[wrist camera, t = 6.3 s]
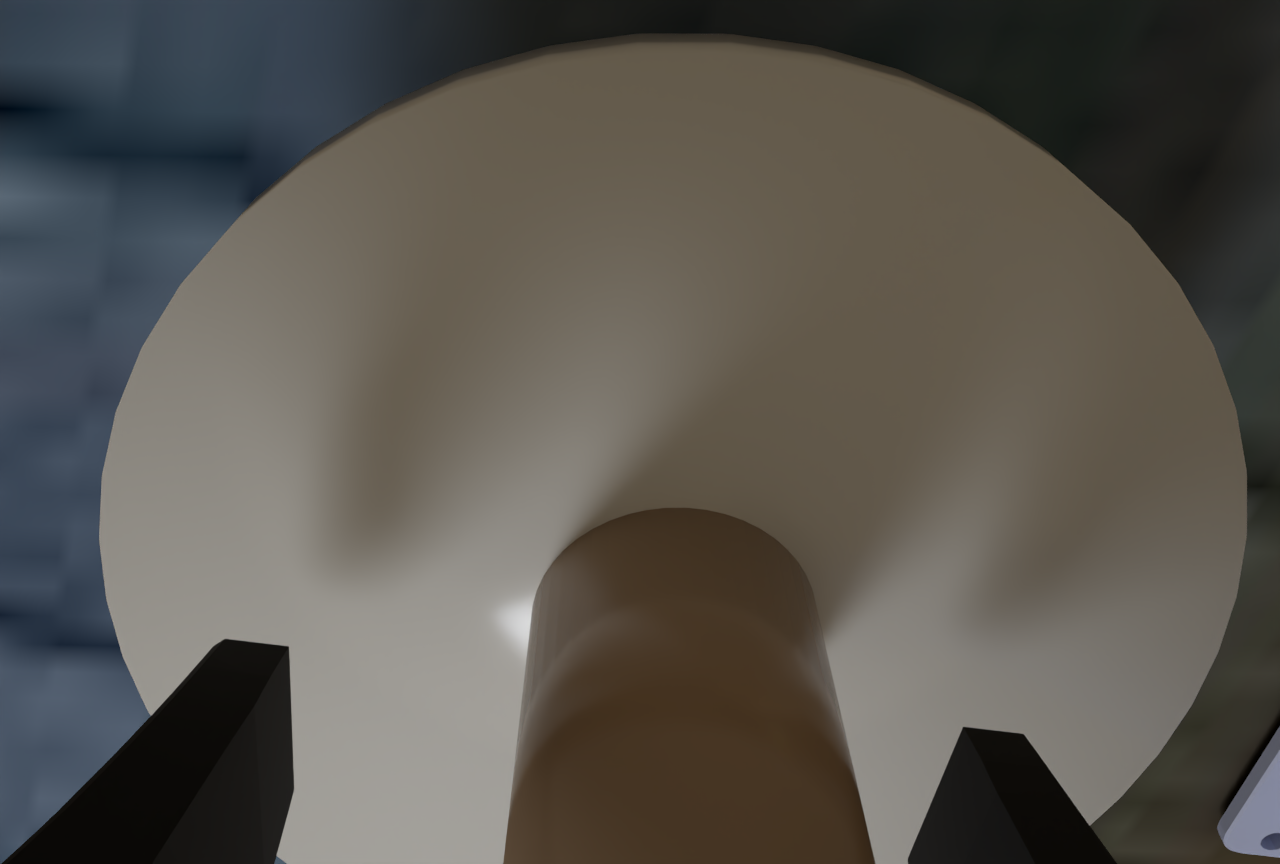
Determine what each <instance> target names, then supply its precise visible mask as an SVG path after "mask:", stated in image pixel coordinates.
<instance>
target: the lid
mask: <svg viewBox="0 0 1280 864" xmlns="http://www.w3.org/2000/svg"><path fill="white" fill-rule="evenodd" d="M1246 537H1247V471H1246V465H1245V459H1244V453H1243V447H1242V441H1241V436H1240V430H1239V424H1238V418H1237V412H1236V408H1235V405H1234V402H1233V399H1232V396H1231V394H1230V391H1229V388H1228V385H1227V382H1226V380H1225V377H1224V374H1223V371H1222V368H1221V366H1220V363H1219V360H1218V357H1217V354H1216V352H1215V349H1214V346H1213V344H1212V342H1211V340H1210V339H1209V337H1208V335H1207V333H1206V332H1205V330H1204V328H1203V326H1202V325H1201V323H1200V321H1199V319H1198V317H1197V316H1196V314H1195V312H1194V310H1193V309H1192V307H1191V305H1190V303H1189V302H1188V300H1187V298H1186V296H1185V294H1184V293H1183V291H1182V289H1181V287H1180V286H1179V284H1178V282H1177V281H1176V280H1175V279H1174V278H1173V276H1172V275H1171V274H1170V273H1169V271H1168V270H1167V269H1166V268H1165V266H1164V265H1163V264H1162V263H1161V262H1160V260H1159V259H1158V258H1157V257H1156V255H1155V254H1154V253H1153V252H1152V251H1151V249H1150V248H1149V247H1148V246H1147V244H1146V243H1145V242H1144V241H1143V239H1142V238H1141V237H1140V236H1139V235H1138V233H1137V232H1136V231H1135V230H1134V228H1133V227H1132V226H1131V225H1130V224H1129V223H1128V222H1127V221H1126V220H1125V219H1123V218H1122V217H1121V216H1120V215H1119V214H1118V213H1117V212H1116V211H1114V210H1113V209H1112V208H1111V207H1110V206H1109V205H1108V204H1107V203H1105V202H1104V201H1103V200H1102V199H1101V198H1100V197H1099V196H1098V195H1096V194H1095V193H1094V192H1093V191H1092V190H1091V189H1090V188H1088V187H1087V186H1086V185H1085V184H1084V183H1083V182H1082V181H1081V180H1079V179H1078V178H1077V177H1076V176H1075V175H1074V174H1073V173H1072V172H1070V171H1069V170H1068V169H1067V168H1066V167H1065V166H1064V165H1063V164H1061V163H1060V162H1059V161H1058V160H1057V159H1056V158H1055V157H1053V156H1052V155H1051V154H1050V153H1049V152H1048V151H1047V150H1046V149H1044V148H1043V147H1042V146H1040V145H1039V144H1037V143H1036V142H1034V141H1033V140H1031V139H1030V138H1028V137H1026V136H1025V135H1023V134H1022V133H1020V132H1019V131H1017V130H1016V129H1014V128H1012V127H1011V126H1009V125H1008V124H1006V123H1005V122H1003V121H1001V120H1000V119H998V118H997V117H995V116H994V115H992V114H991V113H989V112H987V111H986V110H984V109H983V108H981V107H980V106H978V105H976V104H975V103H973V102H970V101H968V100H966V99H964V98H961V97H959V96H957V95H955V94H952V93H950V92H948V91H946V90H944V89H941V88H939V87H937V86H935V85H932V84H930V83H928V82H926V81H923V80H921V79H919V78H917V77H914V76H912V75H910V74H908V73H906V72H903V71H901V70H899V69H895V68H892V67H888V66H885V65H881V64H878V63H874V62H871V61H867V60H864V59H860V58H857V57H853V56H850V55H846V54H843V53H839V52H836V51H832V50H829V49H825V48H822V47H818V46H814V45H806V44H799V43H792V42H785V41H778V40H770V39H763V38H756V37H749V36H742V35H734V34H650V33H638V34H630V35H623V36H616V37H608V38H601V39H594V40H586V41H579V42H572V43H564V44H557V45H550V46H546V47H542V48H539V49H535V50H531V51H528V52H524V53H521V54H517V55H514V56H510V57H506V58H503V59H499V60H496V61H492V62H489V63H485V64H481V65H478V66H474V67H471V68H467V69H464V70H461V71H459V72H457V73H455V74H452V75H450V76H448V77H445V78H443V79H441V80H439V81H436V82H434V83H432V84H429V85H427V86H425V87H423V88H420V89H418V90H416V91H413V92H411V93H409V94H407V95H404V96H402V97H400V98H397V99H395V100H393V101H391V102H388V103H386V104H384V105H383V106H381V107H379V108H378V109H376V110H375V111H373V112H371V113H370V114H368V115H367V116H365V117H363V118H362V119H360V120H359V121H357V122H355V123H354V124H352V125H350V126H349V127H347V128H346V129H344V130H342V131H341V132H339V133H338V134H336V135H334V136H333V137H331V138H330V139H328V140H326V141H325V142H323V143H321V144H320V145H318V146H317V147H315V148H314V149H313V150H312V151H311V152H309V153H308V154H307V155H306V156H305V157H303V158H302V159H301V160H300V161H299V162H298V163H296V164H295V165H294V166H293V167H292V168H291V169H289V170H288V171H287V172H286V173H285V174H283V175H282V176H281V177H280V178H279V179H278V180H276V181H275V182H274V183H273V184H272V185H270V186H269V187H268V188H267V189H266V190H265V191H263V192H262V193H261V194H260V195H259V196H258V197H256V198H255V200H254V201H253V202H252V203H251V204H250V205H249V206H248V208H247V209H246V210H245V211H244V212H243V213H242V214H241V215H240V217H239V218H238V219H237V220H236V221H235V222H234V223H233V225H232V226H231V227H230V228H229V229H228V230H227V231H226V233H225V234H224V235H223V236H222V237H221V238H220V240H219V241H218V242H217V243H216V244H215V245H214V246H213V248H212V249H211V250H210V251H209V252H208V253H207V255H206V256H205V257H204V258H203V259H202V260H201V262H200V263H199V264H198V265H197V266H196V267H195V268H194V270H193V271H192V272H191V273H190V274H189V275H188V277H187V278H186V279H185V280H184V281H183V282H182V284H181V285H180V286H179V288H178V290H177V291H176V293H175V294H174V296H173V298H172V299H171V301H170V303H169V304H168V306H167V307H166V309H165V311H164V312H163V314H162V316H161V317H160V319H159V320H158V322H157V324H156V325H155V327H154V329H153V330H152V332H151V333H150V335H149V337H148V338H147V340H146V342H145V343H144V345H143V346H142V349H141V351H140V353H139V356H138V358H137V361H136V363H135V366H134V368H133V371H132V373H131V376H130V378H129V381H128V383H127V386H126V388H125V391H124V393H123V396H122V398H121V400H120V403H119V405H118V408H117V410H116V414H115V418H114V423H113V428H112V432H111V437H110V441H109V446H108V451H107V455H106V460H105V464H104V469H103V474H102V486H101V508H100V530H99V543H100V551H101V559H102V567H103V575H104V584H105V592H106V600H107V603H108V607H109V610H110V614H111V617H112V621H113V624H114V628H115V631H116V635H117V638H118V642H119V645H120V649H121V652H122V655H123V658H124V661H125V663H126V665H127V667H128V669H129V671H130V674H131V676H132V678H133V680H134V682H135V684H136V687H137V689H138V691H139V693H140V695H141V697H142V700H143V702H144V704H145V706H146V708H147V710H148V712H149V714H150V715H152V714H153V713H154V712H155V711H156V710H157V709H158V708H159V707H160V706H161V705H162V704H163V702H164V701H165V700H166V699H167V698H168V697H169V696H170V695H171V694H172V693H173V691H174V690H175V689H176V688H177V687H178V686H179V685H180V684H181V682H182V681H183V680H184V679H185V678H186V677H187V676H188V675H189V673H190V672H191V671H192V670H193V669H194V668H195V667H196V666H197V664H198V663H199V662H200V661H201V660H202V659H203V657H204V656H205V655H206V654H207V653H208V652H209V651H210V649H211V648H212V647H213V646H214V645H216V644H217V643H219V642H221V641H222V640H224V639H231V640H240V641H248V642H257V643H265V644H273V645H282V646H289V658H290V686H291V713H292V741H293V769H294V793H293V796H292V800H291V804H290V807H289V811H288V815H287V819H286V822H285V826H284V830H283V833H282V837H281V841H280V844H279V848H278V852H277V855H276V856H278V857H279V858H280V859H282V860H283V861H284V862H286V863H287V864H908V857H909V854H910V852H911V850H912V847H913V845H914V842H915V840H916V838H917V835H918V833H919V831H920V828H921V826H922V823H923V821H924V819H925V816H926V814H927V812H928V809H929V807H930V804H931V802H932V800H933V797H934V795H935V792H936V790H937V788H938V785H939V783H940V781H941V778H942V776H943V773H944V771H945V769H946V766H947V764H948V762H949V759H950V757H951V754H952V752H953V750H954V747H955V745H956V743H957V740H958V738H959V735H960V733H961V731H962V728H963V727H970V728H979V729H987V730H995V731H1004V732H1012V733H1020V734H1024V735H1025V736H1026V738H1027V739H1028V740H1029V742H1030V743H1031V745H1032V746H1033V747H1034V749H1035V750H1036V752H1037V753H1038V754H1039V756H1040V757H1041V759H1042V760H1043V761H1044V763H1045V764H1046V765H1047V767H1048V768H1049V770H1050V771H1051V772H1052V774H1053V775H1054V777H1055V778H1056V779H1057V781H1058V782H1059V784H1060V785H1061V786H1062V788H1063V789H1064V791H1065V792H1066V793H1067V795H1068V796H1069V798H1070V799H1071V800H1072V802H1073V803H1074V805H1075V806H1076V807H1077V809H1078V810H1079V812H1080V813H1081V814H1082V816H1083V817H1084V819H1085V820H1086V821H1087V823H1088V824H1089V826H1090V825H1091V824H1092V823H1093V822H1094V821H1095V820H1096V819H1098V818H1099V817H1100V816H1101V815H1102V814H1103V813H1104V812H1105V811H1106V810H1107V809H1109V808H1110V807H1111V806H1112V805H1113V804H1114V803H1115V802H1116V801H1117V800H1119V799H1120V798H1121V796H1122V795H1123V794H1124V793H1125V792H1126V791H1127V790H1128V788H1129V787H1130V786H1131V785H1132V784H1133V783H1134V782H1135V780H1136V779H1137V778H1138V777H1139V776H1140V775H1141V774H1142V772H1143V771H1144V770H1145V769H1146V768H1147V767H1148V766H1149V764H1150V763H1151V762H1152V761H1153V760H1154V759H1155V758H1156V757H1157V755H1158V754H1159V753H1160V751H1161V750H1162V748H1163V747H1164V745H1165V744H1166V742H1167V741H1168V740H1169V738H1170V737H1171V735H1172V734H1173V732H1174V731H1175V729H1176V728H1177V726H1178V725H1179V723H1180V722H1181V720H1182V719H1183V717H1184V716H1185V714H1186V713H1187V712H1188V710H1189V709H1190V707H1191V706H1192V704H1193V702H1194V700H1195V698H1196V696H1197V694H1198V692H1199V690H1200V688H1201V686H1202V684H1203V682H1204V680H1205V678H1206V676H1207V674H1208V672H1209V670H1210V668H1211V666H1212V664H1213V662H1214V660H1215V658H1216V656H1217V654H1218V651H1219V648H1220V645H1221V642H1222V639H1223V636H1224V633H1225V630H1226V627H1227V624H1228V621H1229V618H1230V615H1231V612H1232V609H1233V606H1234V603H1235V600H1236V597H1237V592H1238V586H1239V580H1240V574H1241V568H1242V561H1243V555H1244V549H1245V543H1246Z"/></svg>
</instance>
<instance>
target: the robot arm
mask: <svg viewBox="0 0 1280 864" xmlns="http://www.w3.org/2000/svg"><path fill="white" fill-rule="evenodd" d="M293 793H294V769H293V741H292V713H291V686H290V658H289V646H282V645H273V644H265V643H257V642H248V641H240V640H231V639H224V640H222V641H221V642H219V643H217V644H216V645H214V646H213V647H212V648H211V649H210V651H209V652H208V653H207V654H206V655H205V656H204V657H203V659H202V660H201V661H200V662H199V663H198V664H197V666H196V667H195V668H194V669H193V670H192V671H191V672H190V673H189V675H188V676H187V677H186V678H185V679H184V680H183V681H182V682H181V684H180V685H179V686H178V687H177V688H176V689H175V690H174V691H173V693H172V694H171V695H170V696H169V697H168V698H167V699H166V700H165V701H164V702H163V704H162V705H161V706H160V707H159V708H158V709H157V710H156V711H155V712H154V713H153V714H152V715H151V717H150V718H149V719H148V720H147V721H146V722H145V723H144V724H143V725H142V726H141V727H140V728H139V729H138V730H137V731H136V732H135V734H134V735H133V736H132V737H131V738H130V739H129V740H128V741H127V742H126V743H125V744H124V745H123V746H122V747H121V748H120V749H119V750H118V751H117V753H116V754H115V755H114V756H113V757H112V758H111V759H110V760H109V761H108V762H107V763H106V764H105V765H104V766H103V767H102V768H101V769H100V770H99V771H98V772H97V773H96V774H95V775H94V776H93V777H92V778H91V779H90V780H89V781H88V782H87V783H86V784H85V785H84V786H83V787H82V788H81V789H80V790H79V791H78V792H77V793H76V794H75V795H74V796H73V797H72V798H71V799H70V800H69V801H68V802H67V803H66V804H65V805H64V806H63V807H62V808H61V809H60V810H59V811H58V812H57V813H56V814H55V815H53V816H52V817H51V818H50V819H49V820H48V821H47V822H46V823H45V824H44V825H43V826H42V827H41V828H40V829H39V830H38V831H37V832H36V833H35V834H33V835H32V836H31V837H30V838H29V839H28V840H27V841H26V842H25V843H24V844H23V845H21V846H20V847H19V848H18V849H17V850H16V851H15V852H14V853H13V854H12V855H10V856H9V857H8V858H7V859H6V860H5V861H4V862H3V863H2V864H274V862H275V859H276V855H277V852H278V848H279V844H280V841H281V837H282V833H283V830H284V826H285V822H286V819H287V815H288V811H289V807H290V804H291V800H292V796H293ZM1217 829H1218V832H1219V835H1220V837H1221V839H1222V841H1223V843H1224V845H1225V846H1226V847H1227V848H1228V849H1229V850H1231V851H1235V852H1239V853H1244V854H1253V855H1262V856H1271V857H1279V858H1280V727H1279V728H1278V730H1277V731H1276V733H1275V734H1274V736H1273V738H1272V739H1271V741H1270V742H1269V744H1268V745H1267V747H1266V749H1265V750H1264V752H1263V753H1262V755H1261V756H1260V758H1259V760H1258V761H1257V763H1256V764H1255V766H1254V767H1253V769H1252V771H1251V772H1250V774H1249V775H1248V777H1247V778H1246V780H1245V782H1244V783H1243V785H1242V786H1241V788H1240V790H1239V791H1238V793H1237V794H1236V796H1235V797H1234V799H1233V801H1232V802H1231V804H1230V805H1229V807H1228V808H1227V810H1226V812H1225V813H1224V815H1223V816H1222V818H1221V819H1220V821H1219V824H1218V827H1217ZM908 864H1117V863H1116V862H1115V860H1114V859H1113V857H1112V856H1111V855H1110V853H1109V852H1108V851H1107V849H1106V848H1105V846H1104V845H1103V844H1102V842H1101V841H1100V840H1099V838H1098V837H1097V835H1096V834H1095V833H1094V831H1093V830H1092V828H1091V827H1090V826H1089V824H1088V823H1087V821H1086V820H1085V819H1084V817H1083V816H1082V814H1081V813H1080V812H1079V810H1078V809H1077V807H1076V806H1075V805H1074V803H1073V802H1072V800H1071V799H1070V798H1069V796H1068V795H1067V793H1066V792H1065V791H1064V789H1063V788H1062V786H1061V785H1060V784H1059V782H1058V781H1057V779H1056V778H1055V777H1054V775H1053V774H1052V772H1051V771H1050V770H1049V768H1048V767H1047V765H1046V764H1045V763H1044V761H1043V760H1042V759H1041V757H1040V756H1039V754H1038V753H1037V752H1036V750H1035V749H1034V747H1033V746H1032V745H1031V743H1030V742H1029V740H1028V739H1027V738H1026V736H1025V735H1024V734H1020V733H1012V732H1004V731H995V730H987V729H979V728H970V727H963V728H962V731H961V733H960V735H959V738H958V740H957V743H956V745H955V747H954V750H953V752H952V754H951V757H950V759H949V762H948V764H947V766H946V769H945V771H944V773H943V776H942V778H941V781H940V783H939V785H938V788H937V790H936V792H935V795H934V797H933V800H932V802H931V804H930V807H929V809H928V812H927V814H926V816H925V819H924V821H923V823H922V826H921V828H920V831H919V833H918V835H917V838H916V840H915V842H914V845H913V847H912V850H911V852H910V854H909V857H908Z"/></svg>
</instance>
